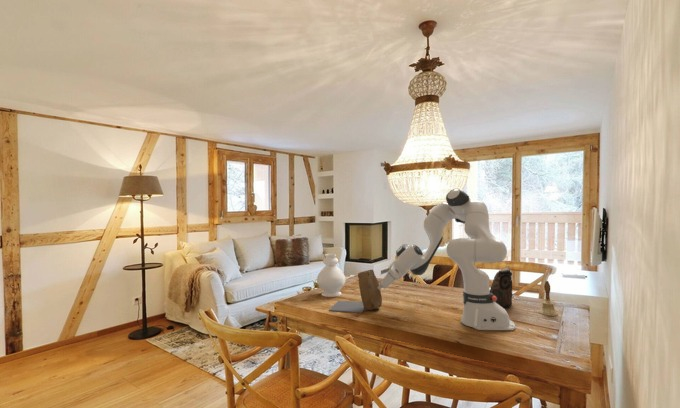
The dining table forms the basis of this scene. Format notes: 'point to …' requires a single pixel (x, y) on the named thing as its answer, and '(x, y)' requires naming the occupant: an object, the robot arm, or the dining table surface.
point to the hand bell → (548, 303)
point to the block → (369, 290)
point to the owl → (502, 288)
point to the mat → (348, 307)
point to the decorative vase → (331, 277)
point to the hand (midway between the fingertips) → (378, 288)
